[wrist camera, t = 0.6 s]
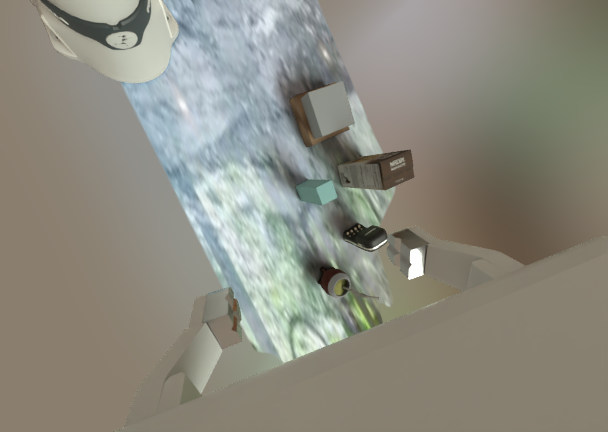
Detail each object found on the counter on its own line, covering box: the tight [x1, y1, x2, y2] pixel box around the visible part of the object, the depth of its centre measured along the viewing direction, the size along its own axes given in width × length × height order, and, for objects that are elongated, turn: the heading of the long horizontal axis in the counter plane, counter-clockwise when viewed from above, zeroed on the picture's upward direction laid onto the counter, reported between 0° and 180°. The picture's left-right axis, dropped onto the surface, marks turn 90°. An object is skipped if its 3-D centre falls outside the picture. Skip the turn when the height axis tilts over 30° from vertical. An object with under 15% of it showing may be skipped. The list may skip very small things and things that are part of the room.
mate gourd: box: [318, 267, 379, 299], centre depth 57 cm, size 8×8×15 cm
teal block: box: [295, 180, 337, 205], centre depth 51 cm, size 4×4×11 cm
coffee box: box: [338, 150, 414, 190], centre depth 54 cm, size 9×6×16 cm
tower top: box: [301, 81, 355, 139], centre depth 50 cm, size 9×9×4 cm
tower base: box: [290, 82, 349, 147], centre depth 53 cm, size 11×11×4 cm
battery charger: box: [344, 224, 387, 252], centre depth 59 cm, size 7×4×11 cm, turn 113°
